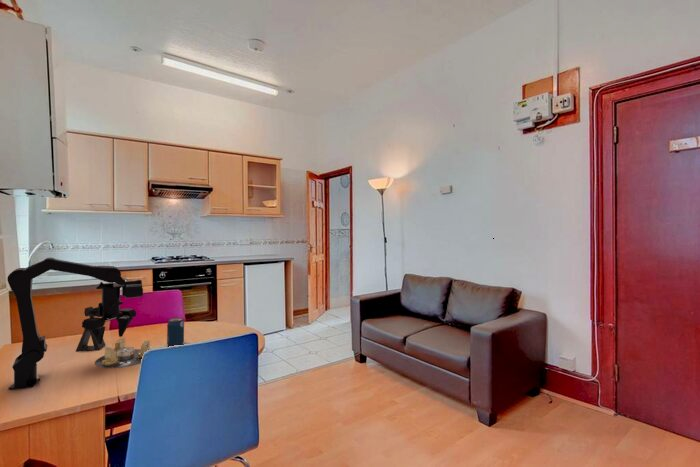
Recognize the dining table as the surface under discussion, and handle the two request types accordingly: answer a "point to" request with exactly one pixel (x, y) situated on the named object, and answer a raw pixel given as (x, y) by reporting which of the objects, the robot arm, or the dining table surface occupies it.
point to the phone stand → (85, 339)
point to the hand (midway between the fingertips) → (110, 340)
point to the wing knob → (109, 357)
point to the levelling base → (121, 363)
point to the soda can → (175, 332)
